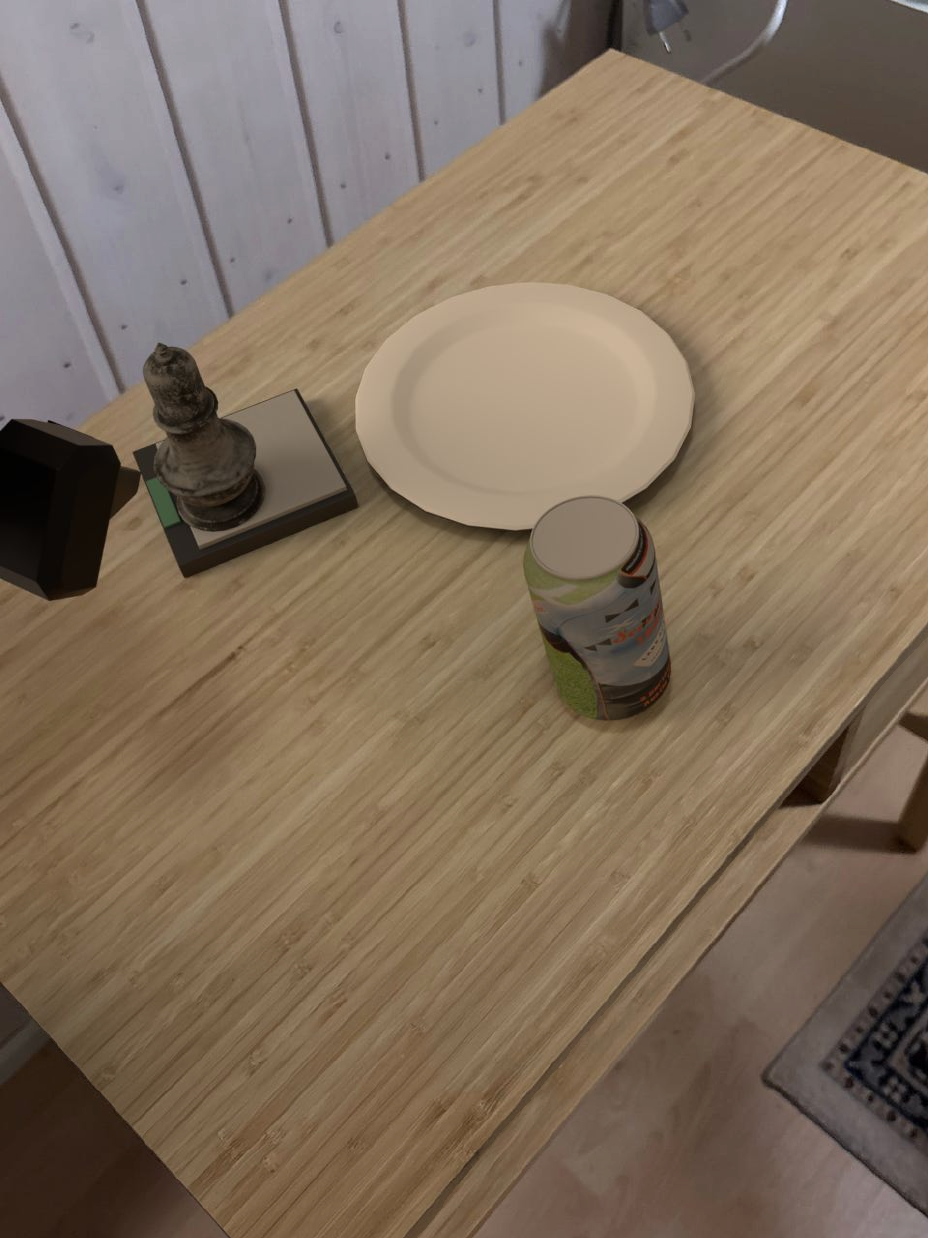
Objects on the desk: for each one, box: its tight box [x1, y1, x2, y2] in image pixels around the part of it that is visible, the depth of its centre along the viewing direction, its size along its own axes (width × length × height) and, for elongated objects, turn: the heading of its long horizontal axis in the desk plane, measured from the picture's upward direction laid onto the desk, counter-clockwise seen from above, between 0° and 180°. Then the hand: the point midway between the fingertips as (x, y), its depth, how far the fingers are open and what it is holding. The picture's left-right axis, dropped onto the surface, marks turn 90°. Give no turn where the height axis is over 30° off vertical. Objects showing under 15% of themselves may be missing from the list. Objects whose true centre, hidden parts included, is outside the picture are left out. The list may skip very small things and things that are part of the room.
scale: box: [132, 387, 359, 579], centre depth 69 cm, size 11×10×2 cm
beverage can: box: [522, 495, 672, 722], centre depth 55 cm, size 6×7×12 cm
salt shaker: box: [142, 342, 265, 532], centre depth 63 cm, size 6×6×12 cm
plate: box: [354, 281, 696, 533], centre depth 71 cm, size 21×21×2 cm
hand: (60, 451), depth 54 cm, fingers open, 9 cm apart
